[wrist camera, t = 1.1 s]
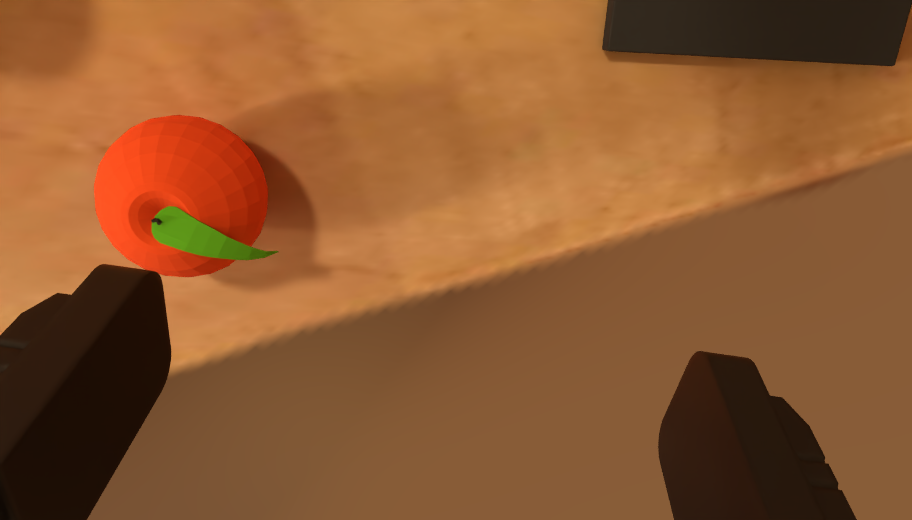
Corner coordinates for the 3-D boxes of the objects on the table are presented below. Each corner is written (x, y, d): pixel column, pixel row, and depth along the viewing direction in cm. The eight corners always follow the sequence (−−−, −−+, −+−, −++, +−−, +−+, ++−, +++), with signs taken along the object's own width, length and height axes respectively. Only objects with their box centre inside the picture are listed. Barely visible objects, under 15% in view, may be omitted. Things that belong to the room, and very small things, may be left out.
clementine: (324, 159, 32) (305, 199, 26) (265, 277, 34) (233, 343, 28) (162, 75, 30) (96, 96, 24) (109, 206, 32) (34, 259, 26)
